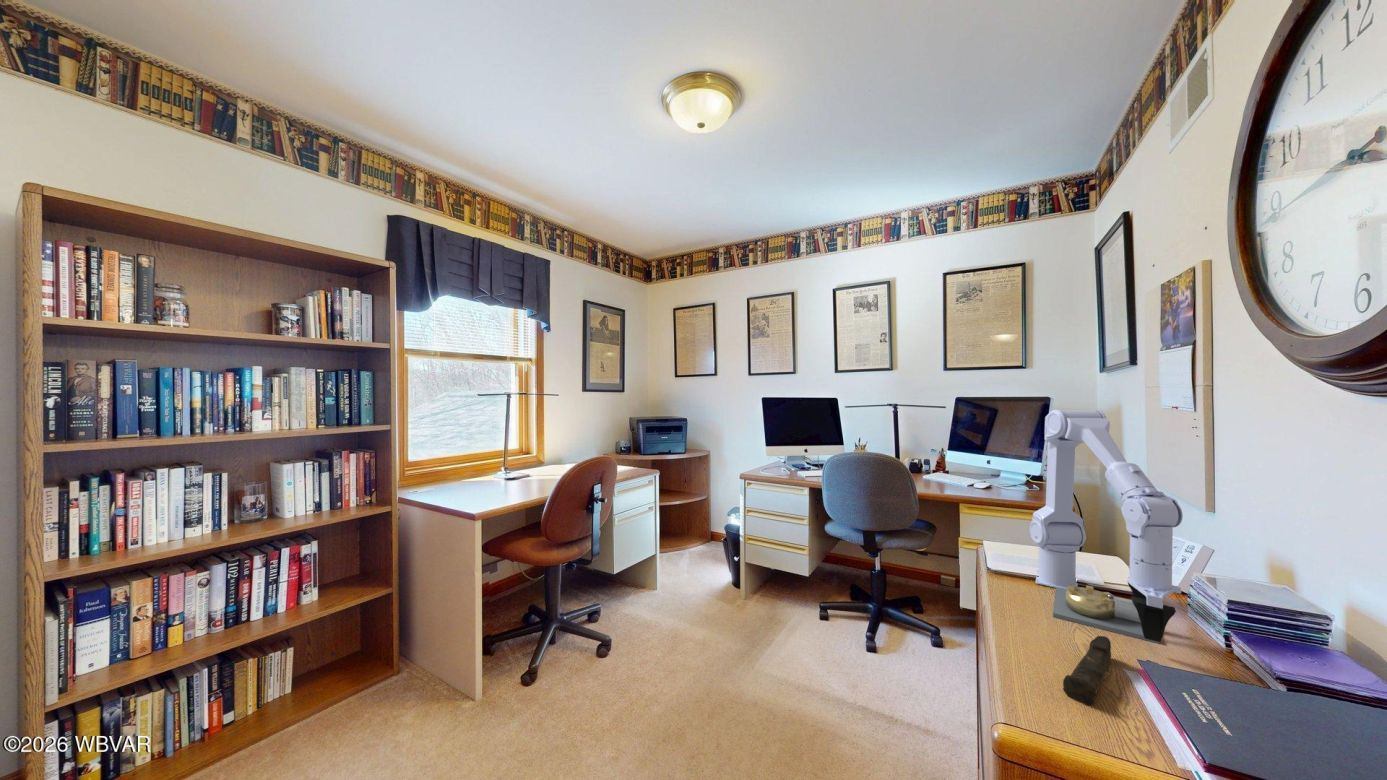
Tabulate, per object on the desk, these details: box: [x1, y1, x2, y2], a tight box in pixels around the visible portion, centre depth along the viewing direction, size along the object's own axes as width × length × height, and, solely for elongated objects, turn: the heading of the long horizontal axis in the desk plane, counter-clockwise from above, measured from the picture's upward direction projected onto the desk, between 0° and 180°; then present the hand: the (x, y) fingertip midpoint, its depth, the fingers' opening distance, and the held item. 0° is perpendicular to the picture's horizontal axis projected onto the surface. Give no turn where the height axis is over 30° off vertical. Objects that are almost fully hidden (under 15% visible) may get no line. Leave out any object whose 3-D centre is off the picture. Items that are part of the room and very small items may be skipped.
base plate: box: [1052, 587, 1161, 644], centre depth 99 cm, size 16×16×1 cm
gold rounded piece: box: [1066, 584, 1141, 622], centre depth 96 cm, size 14×8×4 cm, turn 50°
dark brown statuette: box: [1062, 635, 1112, 706], centre depth 77 cm, size 19×4×5 cm, turn 126°
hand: (1149, 630), depth 87 cm, fingers open, 7 cm apart
